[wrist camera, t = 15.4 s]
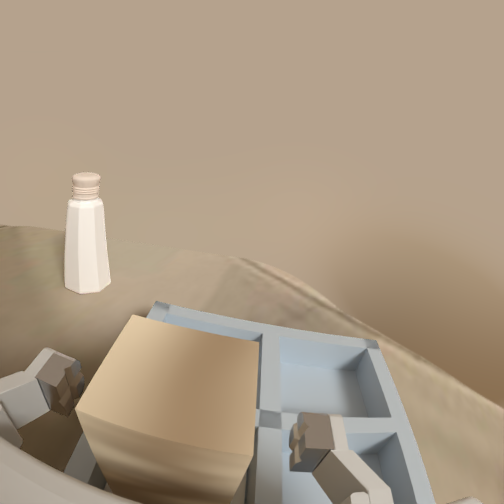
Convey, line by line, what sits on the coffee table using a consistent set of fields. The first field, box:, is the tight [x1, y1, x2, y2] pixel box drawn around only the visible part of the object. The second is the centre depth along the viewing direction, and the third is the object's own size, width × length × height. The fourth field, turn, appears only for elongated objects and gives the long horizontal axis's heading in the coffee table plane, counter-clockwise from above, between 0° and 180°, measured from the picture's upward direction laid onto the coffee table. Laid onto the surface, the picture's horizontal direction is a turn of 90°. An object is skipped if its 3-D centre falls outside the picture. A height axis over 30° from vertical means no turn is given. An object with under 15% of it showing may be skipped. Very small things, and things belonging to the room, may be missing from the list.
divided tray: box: [64, 301, 435, 504], centre depth 15 cm, size 18×18×4 cm
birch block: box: [75, 315, 259, 504], centre depth 10 cm, size 4×4×9 cm
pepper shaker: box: [64, 172, 111, 294], centre depth 26 cm, size 5×5×11 cm
